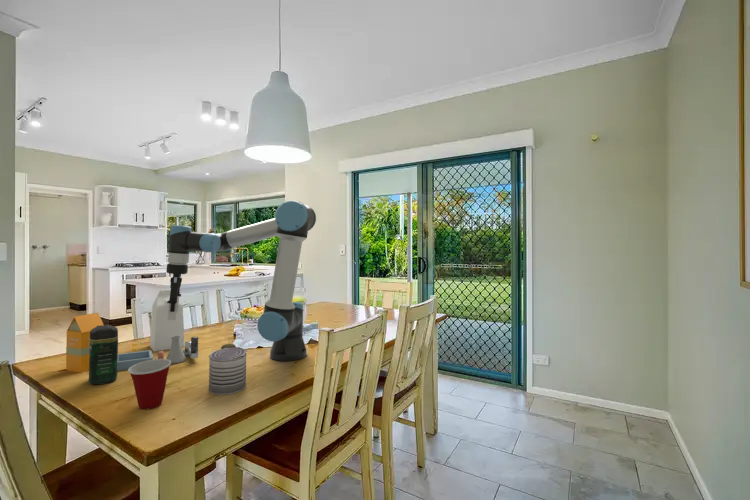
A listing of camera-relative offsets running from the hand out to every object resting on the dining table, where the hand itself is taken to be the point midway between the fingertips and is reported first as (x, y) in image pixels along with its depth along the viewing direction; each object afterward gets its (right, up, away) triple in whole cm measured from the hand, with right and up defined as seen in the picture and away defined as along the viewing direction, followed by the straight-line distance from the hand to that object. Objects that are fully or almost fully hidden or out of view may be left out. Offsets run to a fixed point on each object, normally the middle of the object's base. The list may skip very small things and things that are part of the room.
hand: (173, 316), depth 149 cm
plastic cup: (+16, -19, -42) cm, 49 cm away
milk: (-14, -18, +20) cm, 30 cm away
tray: (-12, -18, -6) cm, 22 cm away
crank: (+6, -16, +3) cm, 18 cm away
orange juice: (-27, -18, -11) cm, 34 cm away
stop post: (-3, -18, -3) cm, 18 cm away
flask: (+2, -18, -1) cm, 18 cm away
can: (+33, -19, -28) cm, 47 cm away
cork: (+28, -19, -16) cm, 37 cm away
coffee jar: (-11, -18, -23) cm, 31 cm away
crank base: (+3, -18, +8) cm, 20 cm away
